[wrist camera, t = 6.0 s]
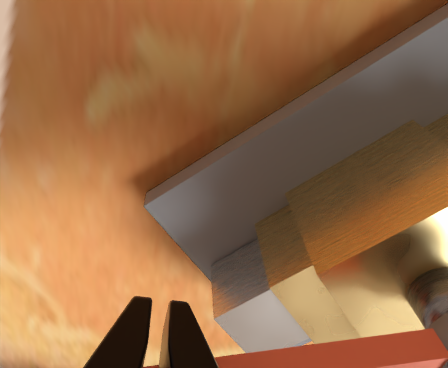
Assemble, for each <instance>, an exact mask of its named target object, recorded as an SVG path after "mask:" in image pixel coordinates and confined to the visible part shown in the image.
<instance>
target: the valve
mask: <svg viewBox="0 0 448 368" xmlns="http://www.w3.org/2000/svg"><path fill="white" fill-rule="evenodd" d="M285 195H286V198H287V200H288V203H289V204H288V205H287V206H285V207H283V208H281V209H280V210H278V211H276V212H274V213H273V214H271V215H269V216H267V217H266V218H264V219H262V220H260V221H259V222H257V223H255V229H256V233H257V237H258V239H257V240H255V241H253V242H251V243H250V244H248V245H246V246H244V247H242V248H241V249H239V250H237V251H235V252H233V253H232V254H230V255H228V256H226V257H225V258H223V259H221V260H219V261H217V262H216V263H214V264H212V265H211V280H212V297H213V314H214V320H215V321H216V322H217V323H218V324H219V325H220V326H221V327H222V328H223V329H224V330H225V331H226V332H227V333H228V335H229V336H230V337H231V338H232V339H233V340H234V341H235V342H236V343H237V344H238V345H239V346H240V347H241V348H242V349H243V350H244V351H245V352H246V353H252V352H259V351H267V350H274V349H281V348H289V347H292V346H294V345H296V344H298V343H300V342H302V341H305V340H307V339H309V338H310V339H311V340H312V341H313V343H314V344H319V343H326V342H334V341H341V340H348V339H356V338H363V337H371V336H378V335H386V334H393V333H401V332H408V331H416V330H423V329H427V328H428V327H429V326H430V325H431V324H432V323H433V322H434V321H436V320H437V319H438V318H440V317H441V316H443V315H444V314H446V313H447V312H448V114H446V115H444V116H443V117H441V118H439V119H437V120H436V121H434V122H432V123H430V124H429V125H427V126H425V127H422V126H421V125H419V124H418V123H417V122H415V121H414V120H411V121H409V122H407V123H405V124H404V125H402V126H400V127H399V128H397V129H395V130H393V131H392V132H390V133H388V134H386V135H385V136H383V137H381V138H379V139H378V140H376V141H374V142H373V143H371V144H369V145H367V146H366V147H364V148H362V149H360V150H359V151H357V152H355V153H354V154H352V155H350V156H348V157H347V158H345V159H343V160H341V161H340V162H338V163H336V164H335V165H333V166H331V167H329V168H328V169H326V170H324V171H322V172H321V173H319V174H317V175H315V176H314V177H312V178H310V179H309V180H307V181H305V182H303V183H302V184H300V185H298V186H296V187H295V188H293V189H291V190H290V191H288V192H286V193H285Z"/></svg>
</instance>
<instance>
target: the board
mask: <svg viewBox="0 0 448 368" xmlns="http://www.w3.org/2000/svg"><path fill="white" fill-rule="evenodd" d="M446 114H448V3H447V4H446V5H444V6H443V7H441V8H440V9H438V10H436V11H435V12H433V13H432V14H430V15H428V16H427V17H425V18H424V19H422V20H420V21H419V22H417V23H416V24H414V25H412V26H411V27H409V28H408V29H406V30H405V31H403V32H401V33H400V34H398V35H397V36H395V37H393V38H392V39H390V40H389V41H387V42H385V43H384V44H382V45H381V46H379V47H377V48H376V49H374V50H373V51H371V52H370V53H368V54H366V55H365V56H363V57H362V58H360V59H358V60H357V61H355V62H354V63H352V64H350V65H349V66H347V67H346V68H344V69H343V70H341V71H339V72H338V73H336V74H335V75H333V76H331V77H330V78H328V79H327V80H325V81H323V82H322V83H320V84H319V85H317V86H315V87H314V88H312V89H311V90H309V91H308V92H306V93H304V94H303V95H301V96H300V97H298V98H296V99H295V100H293V101H292V102H290V103H288V104H287V105H285V106H284V107H282V108H280V109H279V110H277V111H276V112H274V113H273V114H271V115H269V116H268V117H266V118H265V119H263V120H261V121H260V122H258V123H257V124H255V125H253V126H252V127H250V128H249V129H247V130H246V131H244V132H242V133H241V134H239V135H238V136H236V137H234V138H233V139H231V140H230V141H228V142H226V143H225V144H223V145H222V146H220V147H218V148H217V149H215V150H214V151H212V152H211V153H209V154H207V155H206V156H204V157H203V158H201V159H199V160H198V161H196V162H195V163H193V164H191V165H190V166H188V167H187V168H185V169H184V170H182V171H180V172H179V173H177V174H176V175H174V176H172V177H171V178H169V179H168V180H166V181H164V182H163V183H161V184H160V185H158V186H156V187H155V188H153V189H152V190H150V191H149V192H147V193H146V197H145V202H144V207H145V209H146V210H147V211H148V212H149V213H150V214H151V215H152V216H153V217H154V219H155V220H156V221H157V222H158V223H159V224H160V225H161V226H162V227H163V229H164V230H165V231H166V232H167V233H168V234H169V235H170V236H171V238H172V239H173V240H174V241H175V242H176V243H177V244H178V245H179V246H180V248H181V249H182V250H183V251H184V252H185V253H186V254H187V255H188V256H189V258H190V259H191V260H192V261H193V262H194V263H195V264H196V265H197V267H198V268H199V269H200V270H201V271H202V272H203V273H204V274H205V275H206V277H207V278H208V279H209V280H210V281H211V282H212V280H211V265H212V264H214V263H216V262H217V261H219V260H221V259H223V258H225V257H226V256H228V255H230V254H232V253H233V252H235V251H237V250H239V249H241V248H242V247H244V246H246V245H248V244H250V243H251V242H253V241H255V240H257V239H258V237H257V233H256V229H255V223H257V222H259V221H260V220H262V219H264V218H266V217H267V216H269V215H271V214H273V213H274V212H276V211H278V210H280V209H281V208H283V207H285V206H287V205H288V204H289V203H288V200H287V198H286V195H285V193H286V192H288V191H290V190H291V189H293V188H295V187H296V186H298V185H300V184H302V183H303V182H305V181H307V180H309V179H310V178H312V177H314V176H315V175H317V174H319V173H321V172H322V171H324V170H326V169H328V168H329V167H331V166H333V165H335V164H336V163H338V162H340V161H341V160H343V159H345V158H347V157H348V156H350V155H352V154H354V153H355V152H357V151H359V150H360V149H362V148H364V147H366V146H367V145H369V144H371V143H373V142H374V141H376V140H378V139H379V138H381V137H383V136H385V135H386V134H388V133H390V132H392V131H393V130H395V129H397V128H399V127H400V126H402V125H404V124H405V123H407V122H409V121H411V120H414V121H415V122H417V123H418V124H419V125H421V126H422V127H425V126H427V125H429V124H430V123H432V122H434V121H436V120H437V119H439V118H441V117H443V116H444V115H446ZM310 341H312V340H311V339H310V338H309V339H307V340H305V341H302V342H300V343H298V344H296V345H294V346H292V347H296V346H302V345H304V344H306V343H308V342H310Z"/></svg>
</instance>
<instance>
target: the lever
mask: <svg viewBox="0 0 448 368" xmlns="http://www.w3.org/2000/svg"><path fill="white" fill-rule="evenodd" d="M214 358H215V360H216V362H217V364H218V366H219V368H448V312H447V313H446V314H444V315H443V316H441V317H440V318H438V319H437V320H436V321H434V322H433V323H432V324H431V325H430V326H429V327H428V328H427V329H423V330H416V331H408V332H401V333H393V334H386V335H378V336H371V337H363V338H356V339H348V340H341V341H334V342H326V343H319V344H311V345H304V346H296V347H289V348H281V349H274V350H267V351H259V352H252V353H244V354H237V355H229V356H222V357H214ZM143 368H159V365H155V366H147V367H143Z"/></svg>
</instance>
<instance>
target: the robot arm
mask: <svg viewBox="0 0 448 368" xmlns="http://www.w3.org/2000/svg"><path fill="white" fill-rule="evenodd" d="M151 309H152V299H151V298H149V297H140V296H135V297H133V298H132V299H131V301H130V302H129V304H128V305H127V306H126V308H125V309H124V311H123V312H122V313H121V315H120V316H119V318H118V319H117V320H116V322H115V323H114V325H113V326H112V328H111V329H110V330H109V332H108V333H107V335H106V336H105V337H104V339H103V340H102V342H101V343H100V344H99V346H98V347H97V349H96V350H95V352H94V353H93V354H92V356H91V357H90V359H89V360H88V361H87V363H86V364H85V366H84V367H83V368H143V364H144V359H145V354H146V350H147V344H148V338H149V328H150V318H151ZM159 368H219V366H218V364H217V362H216V360H215V358H214V356H213V354H212V352H211V350H210V348H209V345H208V343H207V341H206V339H205V337H204V335H203V333H202V331H201V329H200V326H199V324H198V322H197V320H196V318H195V316H194V314H193V312H192V310H191V308H190V306H189V304H188V303H187V302H183V301H174V300H172V301H170V302H169V305H168V310H167V314H166V319H165V323H164V328H163V335H162V343H161V352H160V360H159Z"/></svg>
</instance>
